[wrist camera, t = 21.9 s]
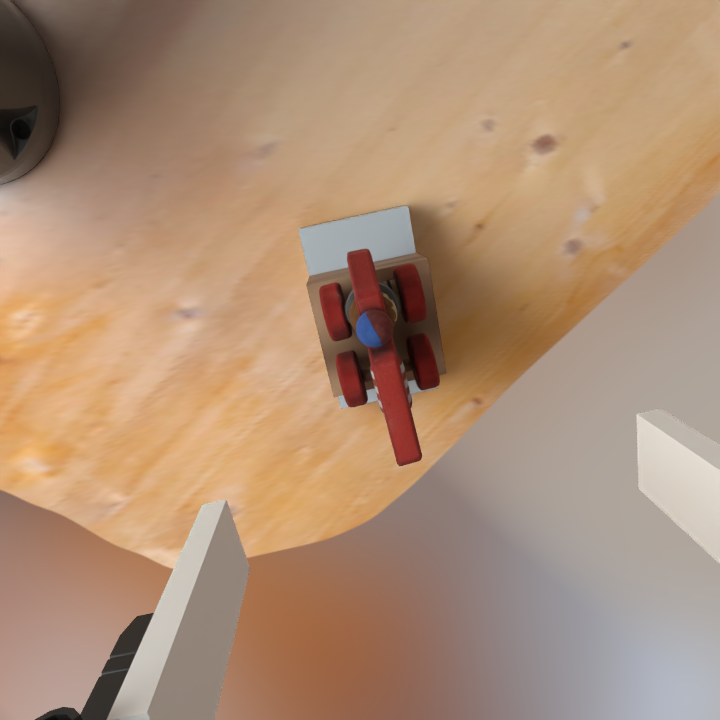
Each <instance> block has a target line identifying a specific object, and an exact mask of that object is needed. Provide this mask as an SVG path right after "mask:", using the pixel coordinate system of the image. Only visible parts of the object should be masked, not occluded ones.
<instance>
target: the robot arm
mask: <svg viewBox="0 0 720 720" xmlns="http://www.w3.org/2000/svg"><path fill="white" fill-rule="evenodd" d="M59 105H60V101H59V89H58V83H57V78H56V74H55V70H54V67H53V64H52V61H51V58H50V56H49V53H48V51H47V49H46V47H45V45H44V43H43V41H42V39H41V38H40V36H39V34H38V33H37V31H36V30H35V28H34V27H33V25H32V24H31V23H30V21H29V20H28V19H27V18H26V16H25V15H24V14H23V13H22V12H21V11H20V10H19V9H18V8H17V7H16V6H15V5H14V4H13V3H12V2H11V1H10V0H0V184H3V183H7V182H9V181H12V180H15V179H17V178H19V177H21V176H22V175H24V174H26V173H27V172H28V171H30V170H31V169H32V168H33V167H35V166H36V165H37V164H38V163H39V161H40V160H41V159H42V158H43V157H44V155H45V154H46V152H47V151H48V149H49V147H50V145H51V143H52V141H53V138H54V135H55V132H56V129H57V125H58V119H59ZM637 452H638V488H639V490H641V491H642V492H643V493H644V494H645V495H646V496H647V497H648V498H649V499H650V500H651V501H652V502H653V503H655V504H656V505H657V506H658V507H659V508H660V509H661V510H662V511H663V512H664V513H666V515H668V516H669V517H670V518H671V519H672V520H673V521H674V522H675V523H676V524H677V525H678V526H680V527H681V528H682V529H683V530H684V531H685V532H686V533H687V534H688V535H689V536H690V537H691V538H693V540H695V541H696V542H697V543H698V544H699V545H700V546H701V547H702V548H703V549H704V550H705V551H706V552H708V553H709V554H710V555H711V556H712V557H713V558H714V559H715V560H716V561H717V562H719V564H720V445H719V444H717V443H716V442H714V441H713V440H711V439H709V438H708V437H706V436H704V435H703V434H701V433H700V432H698V431H696V430H695V429H693V428H691V427H690V426H688V425H687V424H685V423H683V422H682V421H680V420H678V419H677V418H675V417H674V416H672V415H670V414H669V413H667V412H665V411H664V410H662V409H657V410H652V411H647V412H643V413H638V414H637ZM249 571H250V567H249V564H248V561H247V558H246V555H245V552H244V549H243V547H242V544H241V541H240V538H239V535H238V532H237V529H236V526H235V523H234V520H233V518H232V515H231V512H230V509H229V506H228V503H227V500H226V499H225V500H220V501H216V502H211V503H206V504H202V507H201V509H200V511H199V513H198V516H197V518H196V520H195V522H194V525H193V527H192V529H191V531H190V534H189V536H188V538H187V540H186V543H185V545H184V547H183V549H182V552H181V554H180V556H179V558H178V561H177V563H176V565H175V567H174V570H173V572H172V574H171V576H170V579H169V581H168V583H167V585H166V588H165V590H164V592H163V594H162V597H161V599H160V601H159V603H158V605H157V608H156V610H155V612H154V613H151V614H146V615H141V616H137V617H136V618H135V619H134V620H133V621H132V622H131V624H130V625H129V626H128V627H127V628H126V629H125V631H124V632H123V633H122V634H121V635H120V637H119V639H118V641H117V643H116V645H115V647H114V649H113V651H112V653H111V655H110V659H109V660H108V661H107V663H106V665H105V667H104V669H103V671H102V676H101V677H99V679H98V681H97V682H96V684H95V687H94V689H93V690H92V693H91V695H90V697H89V699H88V700H87V702H86V705H85V707H84V708H83V710H82V712H81V714H79V713H78V712H77V711H76V710H75V709H74V708H67V707H62V708H59V709H55V710H52V711H49V712H47V713H46V714H44V715H43V716H40V717H39V718H37V719H35V720H215V716H216V712H217V708H218V703H219V699H220V695H221V691H222V686H223V682H224V678H225V673H226V669H227V665H228V660H229V656H230V652H231V648H232V644H233V639H234V635H235V631H236V626H237V622H238V618H239V614H240V610H241V605H242V601H243V596H244V592H245V588H246V583H247V580H248V575H249Z"/></svg>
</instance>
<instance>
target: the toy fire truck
mask: <svg viewBox="0 0 720 720" xmlns="http://www.w3.org/2000/svg"><path fill="white" fill-rule="evenodd" d="M347 262H348V267H349V272H350V277H351V282H352V287H353V290H352V291H351V293H350V294H349V296H348V299H347V302H345V298H344V295H343V291H342V288H341V285H340V284H339V283H336V282H334V283H331V284H327V285H323V286H321V287H320V289H319V296H320V302H321V307H322V312H323V316H324V320H325V323H326V327H327V330H328V333H329V335H330V338H331V339H332V340H333V341H340V340H344V339H348V338H350V337H351V336H352V328H351V325H352V327H353V328H354V330H355V331H356V334H357V336H358V338H359V340H360V341H361V342H362V343H363V344H364V345H366V346H367V348H368V352H369V358H370V363H371V365H370V368H367V369H362V370H361V367H360V364H359V360H358V357H357V354H356V352H355V351H353V350H350V351H346V352H342V353H339V354H337V355H336V359H335V360H336V368H337V373H338V377H339V382H340V385H341V389H342V392H343V396H344V399H345V401H346V403H347V405H348V406H349V407H356V406H360V405H364V404H366V403H367V401H368V396H367V391H366V387H365V382H370V381H373V383H374V386H375V390H376V394H377V398H378V401H379V405H380V408H381V410H382V412H383V413H384V415H385V419H386V423H387V426H388V430H389V434H390V438H391V442H392V446H393V449H394V453H395V457H396V461H397V464H398V465H399V466H403V465H407V464H410V463H414V462H417V461H419V460H421V459H422V453H421V449H420V445H419V441H418V437H417V433H416V429H415V425H414V421H413V417H412V413H411V407H412V398H411V394H410V390H409V385H408V381H407V377H406V372H409V371H413V375H414V378H415V381H416V384H417V386H418V388H419V389H420V390H427V389H431V388H436V387H437V386H438V385H439V382H440V380H439V372H438V367H437V363H436V359H435V355H434V352H433V349H432V346H431V343H430V341H429V338H428V336H427V335H426V334H424V333H420V334H416V335H412V336H409V337H407V339H406V346H407V351H408V356H409V358H408V359H404V360H401V358H400V356H399V355H397V352H396V349H395V345H394V342H393V338H392V333H393V327H394V325H395V323H396V320H397V317H398V315H402V316H403V319H404V321H405V322H406V323H408V324H411V323H415V322H419V321H423V320H425V319H426V317H427V307H426V301H425V296H424V291H423V287H422V283H421V280H420V276H419V273H418V271H417V268H416V266H415V265H414V264H406V265H402V266H398V267H396V268H395V269H394V270H393V280H387V281H386V282H383V283H380V282H379V281H378V278H377V274H376V270H375V267H374V263H373V259H372V255H371V253H370V251H369V249H360V250H355V251H350V252H348V253H347Z"/></svg>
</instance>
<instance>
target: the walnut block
mask: <svg viewBox="0 0 720 720" xmlns="http://www.w3.org/2000/svg"><path fill="white" fill-rule="evenodd" d="M373 263H374V267H375V270H376V274H377V278H378V281H379V282H380V283H383V282H386V281H387V280H393V270H394V269H395V268H396V267H398V266H402V265H406V264H414V265H415V266H416V268H417V271H418V273H419V276H420V280H421V283H422V287H423V291H424V296H425V301H426V307H427V317H426V319H425V320H423V321H419V322H415V323H411V324H408V323H406V322H405V321H404V319H403V316H402V315H398V317H397V320H396V323H395V325H394V327H393V333H392V338H393V342H394V345H395V349H396V352H397V355H399V356H400V358H401V360H404V359H408V358H409V356H408V351H407V346H406V339H407V337H409V336H412V335H416V334H420V333H424V334H426V335H427V336H428V338H429V341H430V343H431V346H432V349H433V352H434V355H435V359H436V363H437V367H438V372H439V375H440V374H445V373H446V368H445V362H444V356H443V349H442V343H441V337H440V331H439V325H438V318H437V312H436V306H435V300H434V293H433V287H432V281H431V275H430V268H429V262H428V258H426V257H424V256H422V255H420V254H418V253H417V252H416V253H412V254H407V255H403V256H398V257H393V258H389V259H384V260H380V261H375V262H373ZM334 282H336V283H339V284H340V285H341V288H342V291H343V295H344V298H345V302H347V299H348V296H349V294H350V293H351V291H352V290H353V287H352V282H351V277H350V272H349V267H347V268H343V269H338V270H334V271H329V272H324V273H320V274H315V275H311V276H310V277H309V279H308V282H307V289H308V293H309V298H310V302H311V306H312V310H313V314H314V318H315V322H316V326H317V330H318V334H319V338H320V343H321V347H322V351H323V355H324V359H325V363H326V367H327V371H328V375H329V379H330V383H331V388H332V392H333V396H334V397H337V396H342V395H343V392H342V389H341V385H340V382H339V377H338V373H337V368H336V360H335V359H336V355H337V354H339V353H342V352H346V351H350V350H353V351H355V352H356V354H357V357H358V360H359V364H360V367H361V370H362V369H367V368H370V365H371V363H370V358H369V352H368V348H367V346H366V345H364V344H363V343H362V342H361V341H360V340H359V338H358V336H357V334H356V331H355V330H354V328H353V327H352V325H351V328H352V336H351V337H350V338H348V339H344V340H340V341H333V340H332V339H331V338H330V335H329V333H328V330H327V327H326V323H325V320H324V316H323V312H322V307H321V302H320V296H319V289H320V287H321V286H323V285H327V284H331V283H334ZM406 377H407V381H412V380H415V378H414V375H413V371H409V372H406ZM365 387H366V390H370V389H375V386H374V383H373V381H370V382H365Z"/></svg>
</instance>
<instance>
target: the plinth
mask: <svg viewBox="0 0 720 720" xmlns="http://www.w3.org/2000/svg"><path fill="white" fill-rule="evenodd" d="M298 231H299V235H300V239H301V243H302V247H303V252H304V256H305V260H306V264H307V268H308V273H309V277H310V276H311V275H315V274H320V273H324V272H329V271H334V270H338V269H343V268H347V267H348V262H347V253H348V252H350V251H355V250H360V249H369V251H370V253H371V255H372V259H373V262H375V261H380V260H384V259H389V258H393V257H398V256H403V255H407V254H412V253H416V250H415V244H414V238H413V232H412V226H411V220H410V213H409V207H408V206H399V207H394V208H390V209H385V210H380V211H376V212H371V213H367V214H362V215H357V216H353V217H348V218H343V219H339V220H334V221H330V222H325V223H320V224H316V225H311V226H307V227H302V228H300V229H298ZM408 385H409V390H410V394H413V393H418V392H423V391H427V390H432V389H437V388H438V386H437V387H436V388H431V389H427V390H420V389H419V388H418V386H417V384H416V381H415V380H412V381H408ZM366 391H367V396H368V401H367V403H370V402H375V401H378V398H377V394H376V390H375V389H370V390H366ZM338 398H339V403H340V407H341V409H342V408H347V407H349V406H348V405H347V403H346V401H345V399H344V396H343V395H342V396H338Z"/></svg>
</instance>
